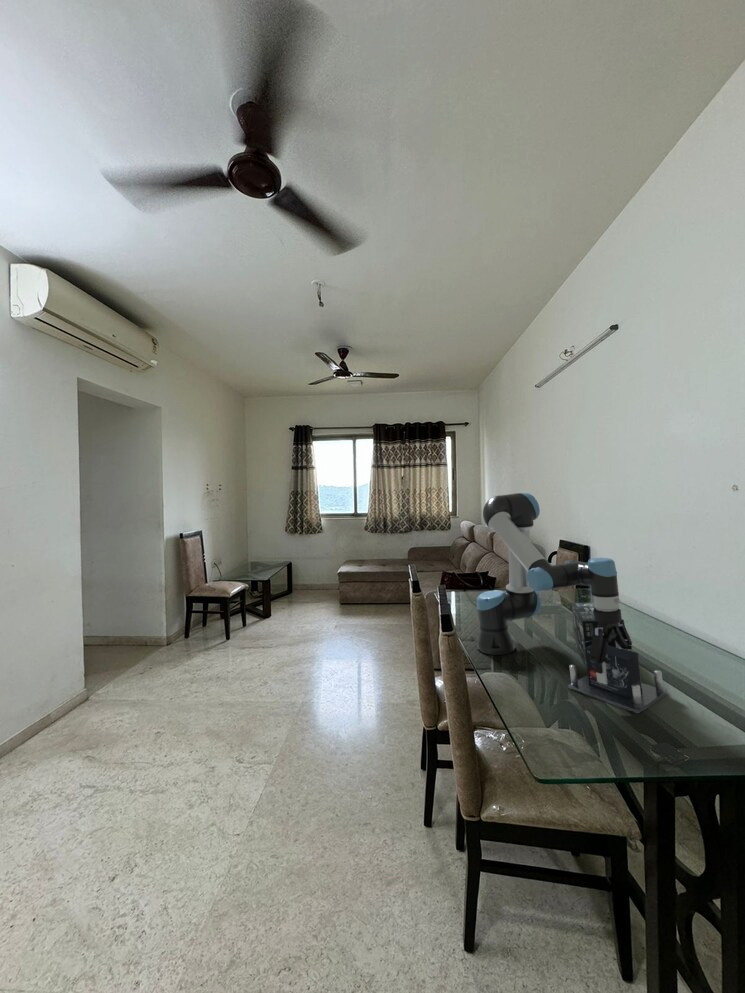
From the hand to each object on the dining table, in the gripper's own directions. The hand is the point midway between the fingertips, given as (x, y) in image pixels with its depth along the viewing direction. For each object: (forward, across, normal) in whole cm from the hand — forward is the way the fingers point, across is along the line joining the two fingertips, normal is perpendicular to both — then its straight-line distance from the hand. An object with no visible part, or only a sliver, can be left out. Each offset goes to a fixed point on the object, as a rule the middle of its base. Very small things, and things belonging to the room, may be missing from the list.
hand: (614, 676), depth 124 cm
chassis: (+5, 0, 0) cm, 5 cm away
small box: (+4, 0, 0) cm, 4 cm away
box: (+5, +18, +16) cm, 25 cm away
